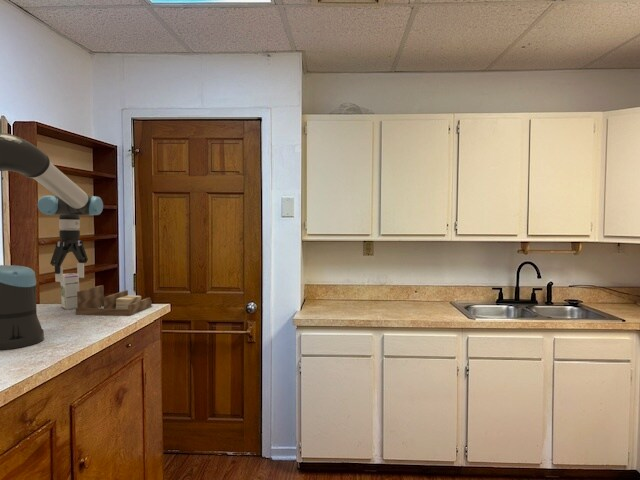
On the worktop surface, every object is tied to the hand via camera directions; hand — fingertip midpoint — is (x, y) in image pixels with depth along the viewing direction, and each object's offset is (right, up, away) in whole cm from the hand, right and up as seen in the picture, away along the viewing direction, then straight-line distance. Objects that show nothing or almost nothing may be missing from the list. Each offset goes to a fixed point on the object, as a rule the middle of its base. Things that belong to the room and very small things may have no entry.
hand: (70, 279), depth 178 cm
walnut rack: (+22, -12, -5) cm, 25 cm away
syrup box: (0, -12, 0) cm, 12 cm away
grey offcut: (+27, -13, -5) cm, 31 cm away
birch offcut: (+27, -10, -5) cm, 30 cm away
